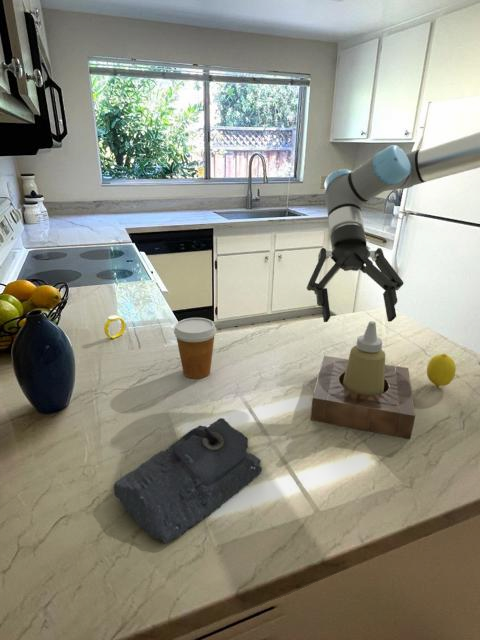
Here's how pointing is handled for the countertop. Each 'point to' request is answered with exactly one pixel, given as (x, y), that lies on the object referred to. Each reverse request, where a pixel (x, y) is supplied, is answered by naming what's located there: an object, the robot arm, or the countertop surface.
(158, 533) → the iron doorstop weight
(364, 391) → the squeeze bottle
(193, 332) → the disposable coffee cup
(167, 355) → the countertop surface
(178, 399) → the countertop surface
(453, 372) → the lemon
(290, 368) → the countertop surface
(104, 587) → the countertop surface
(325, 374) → the holder
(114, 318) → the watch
